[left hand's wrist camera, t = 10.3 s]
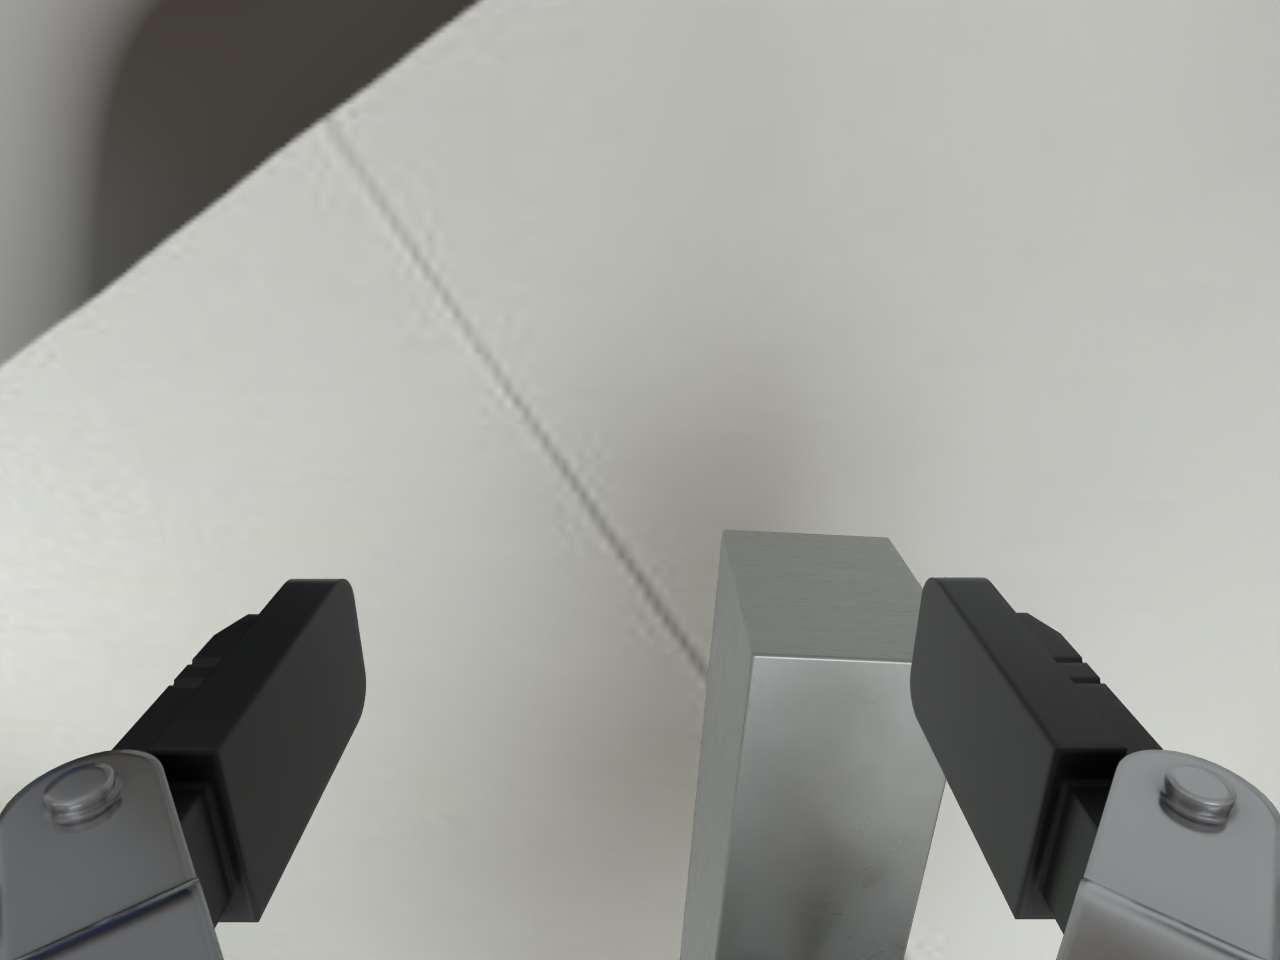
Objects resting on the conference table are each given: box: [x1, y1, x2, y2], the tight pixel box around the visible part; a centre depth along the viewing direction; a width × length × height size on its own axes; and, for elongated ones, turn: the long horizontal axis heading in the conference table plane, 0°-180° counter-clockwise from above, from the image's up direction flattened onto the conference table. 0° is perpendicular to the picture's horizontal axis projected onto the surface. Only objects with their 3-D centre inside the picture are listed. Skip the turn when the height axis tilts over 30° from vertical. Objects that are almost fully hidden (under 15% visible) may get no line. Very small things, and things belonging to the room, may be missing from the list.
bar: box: [680, 530, 946, 960], centre depth 29 cm, size 24×6×8 cm, turn 177°
